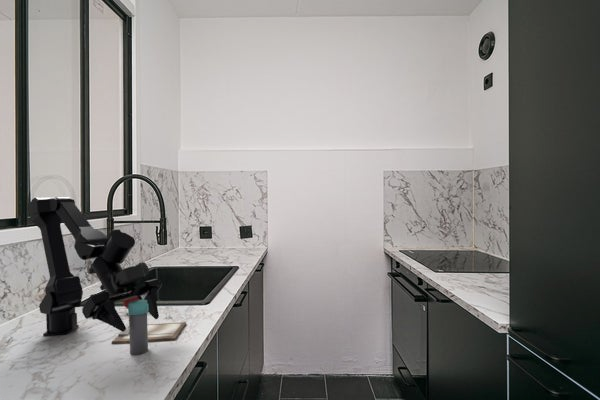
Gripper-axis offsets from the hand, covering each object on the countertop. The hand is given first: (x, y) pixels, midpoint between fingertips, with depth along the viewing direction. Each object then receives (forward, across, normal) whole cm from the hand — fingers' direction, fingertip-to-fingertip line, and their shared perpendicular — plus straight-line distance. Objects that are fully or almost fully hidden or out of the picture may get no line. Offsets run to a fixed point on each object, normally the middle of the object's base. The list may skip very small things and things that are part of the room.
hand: (141, 324), depth 86 cm
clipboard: (-1, +10, +11) cm, 15 cm away
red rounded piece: (-17, +21, +27) cm, 38 cm away
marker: (+4, 0, +6) cm, 7 cm away
